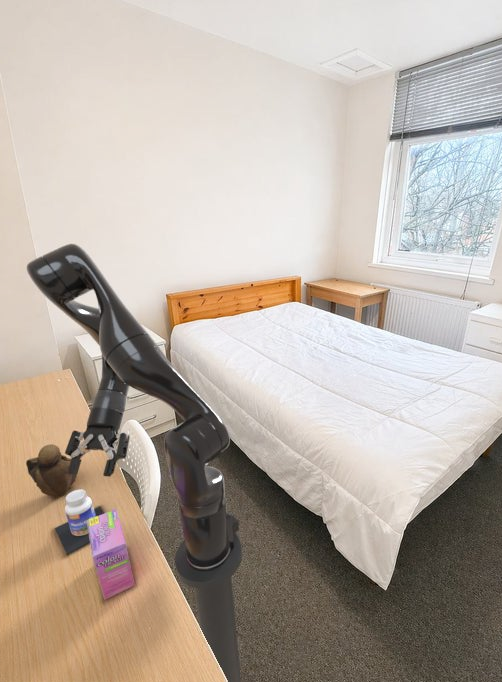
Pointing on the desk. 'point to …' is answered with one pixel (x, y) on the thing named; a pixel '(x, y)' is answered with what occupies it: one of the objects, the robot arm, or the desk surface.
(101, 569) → the box
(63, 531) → the pad
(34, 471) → the sculpture
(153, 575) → the desk surface
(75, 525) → the pill bottle
